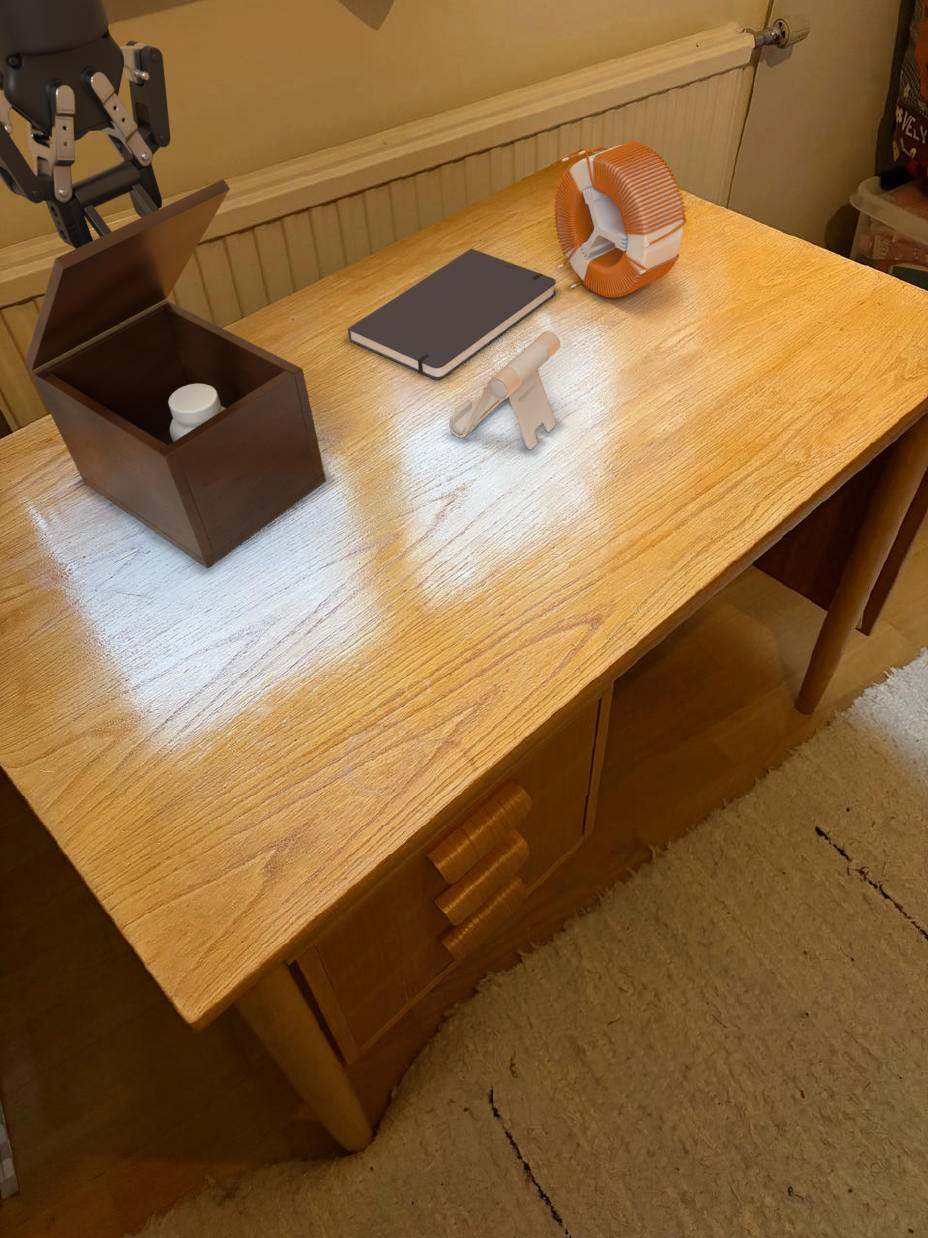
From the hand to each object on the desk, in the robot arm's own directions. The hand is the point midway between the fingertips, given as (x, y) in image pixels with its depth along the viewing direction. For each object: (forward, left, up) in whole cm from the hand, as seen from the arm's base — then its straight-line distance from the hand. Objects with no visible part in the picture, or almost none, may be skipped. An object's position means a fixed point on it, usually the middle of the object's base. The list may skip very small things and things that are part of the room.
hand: (116, 231), depth 63 cm
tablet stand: (+29, +4, -24) cm, 38 cm away
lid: (-1, +1, -5) cm, 5 cm away
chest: (0, 0, -24) cm, 24 cm away
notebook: (+26, +24, -24) cm, 43 cm away
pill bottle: (+2, -2, -23) cm, 23 cm away
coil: (+44, +27, -24) cm, 57 cm away
